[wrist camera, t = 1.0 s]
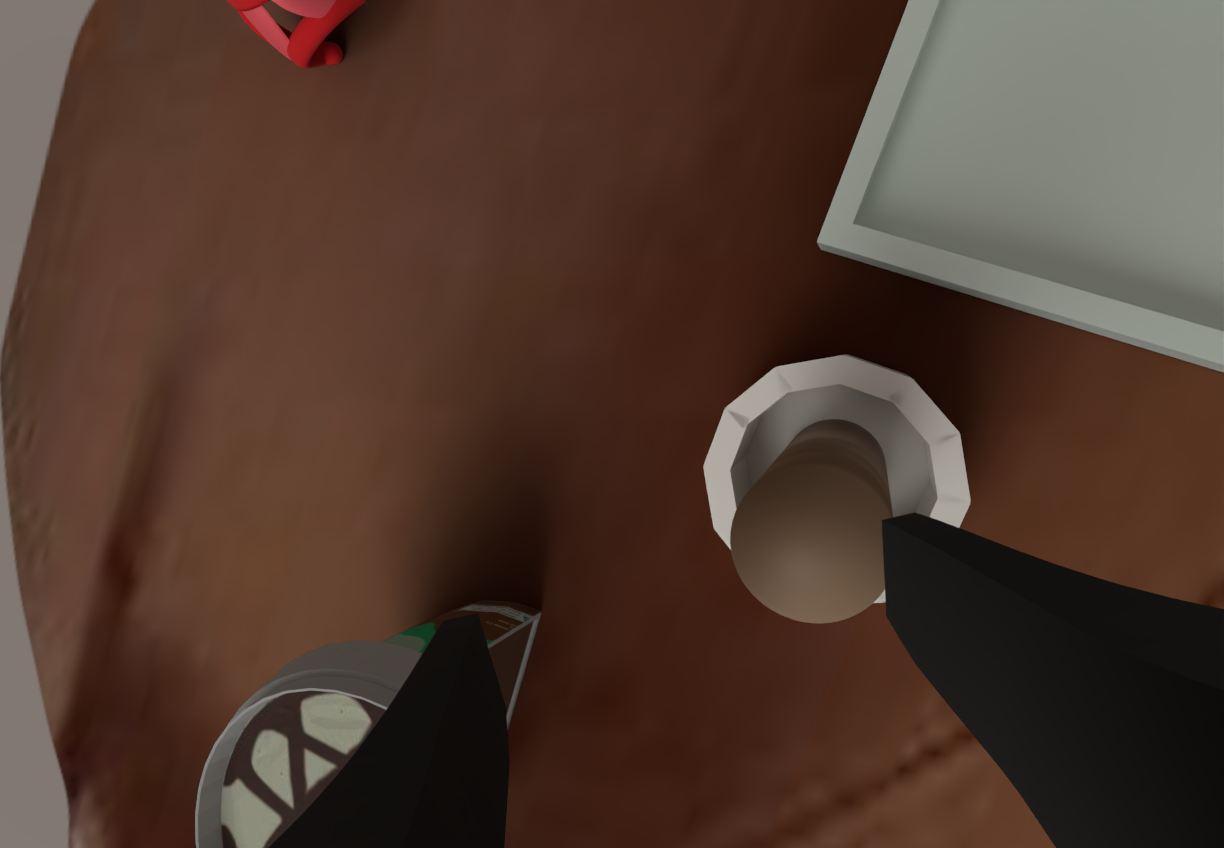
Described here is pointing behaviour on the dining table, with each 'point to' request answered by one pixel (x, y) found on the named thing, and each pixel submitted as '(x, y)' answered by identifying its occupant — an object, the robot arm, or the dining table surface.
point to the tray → (1052, 164)
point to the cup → (844, 390)
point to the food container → (328, 723)
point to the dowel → (816, 525)
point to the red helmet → (300, 28)
